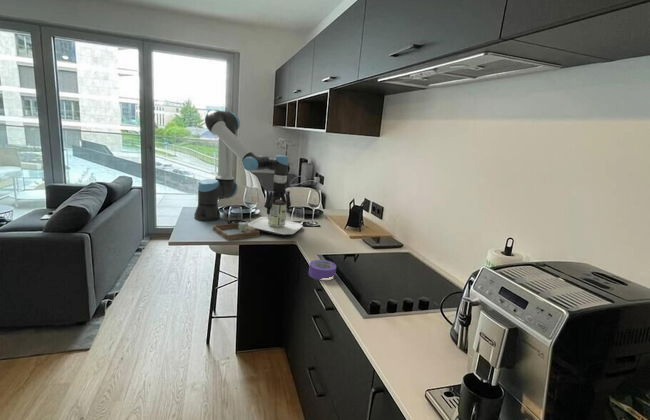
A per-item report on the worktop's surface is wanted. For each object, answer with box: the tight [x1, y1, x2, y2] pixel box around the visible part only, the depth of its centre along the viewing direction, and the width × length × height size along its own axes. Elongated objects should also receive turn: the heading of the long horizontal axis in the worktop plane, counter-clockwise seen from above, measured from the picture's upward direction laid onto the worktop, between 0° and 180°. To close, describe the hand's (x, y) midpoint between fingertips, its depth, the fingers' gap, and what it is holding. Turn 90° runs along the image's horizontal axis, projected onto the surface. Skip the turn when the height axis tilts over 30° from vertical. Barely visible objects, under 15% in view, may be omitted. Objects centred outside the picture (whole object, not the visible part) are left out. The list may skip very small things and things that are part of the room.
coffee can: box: [268, 198, 287, 226], centre depth 201 cm, size 10×10×14 cm
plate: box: [246, 216, 304, 237], centre depth 203 cm, size 29×29×2 cm
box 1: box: [237, 221, 248, 232], centre depth 194 cm, size 4×4×4 cm
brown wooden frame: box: [212, 222, 261, 241], centre depth 188 cm, size 18×19×2 cm
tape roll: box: [308, 259, 337, 281], centre depth 148 cm, size 12×12×5 cm
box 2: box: [244, 226, 255, 233], centre depth 189 cm, size 4×4×4 cm
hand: (276, 218), depth 202 cm, fingers closed on coffee can, 10 cm apart
